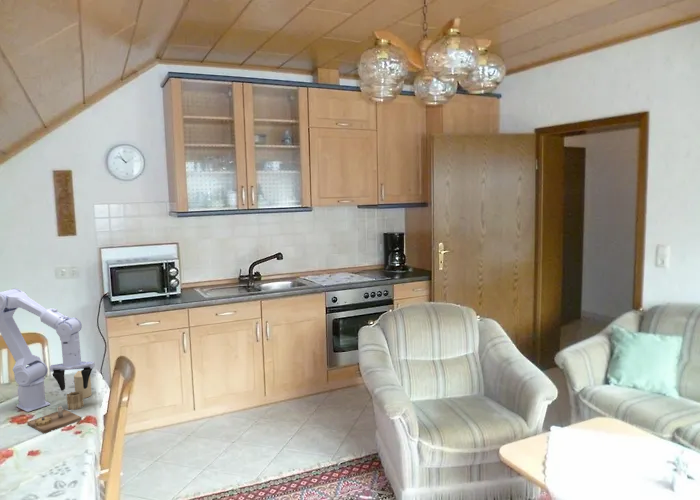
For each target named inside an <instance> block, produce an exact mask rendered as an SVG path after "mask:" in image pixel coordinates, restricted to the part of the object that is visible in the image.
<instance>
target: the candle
mask: <svg viewBox="0 0 700 500" xmlns="http://www.w3.org/2000/svg"><path fill="white" fill-rule="evenodd" d="M82 370H83V369H82ZM82 370H81V369H80V370H77V371H76V373H75V374H74V375H73V381H74V392H76V391H80V392H81V391H82V393H83V399H86V398H89V397H91V396H92V380H91V379H92V378H91V375H90V376H89V380H88V387H87V388H86V389H84V387H83V377H82V373H81V371H82Z"/></svg>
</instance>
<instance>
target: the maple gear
mask: <svg viewBox="0 0 700 500" xmlns="http://www.w3.org/2000/svg"><path fill="white" fill-rule="evenodd" d="M66 403H67V411H70V410H71V411H74V410H77V409H78V410H79V409H81V408H84V406H85V405H84V403H85V402H84V398H83V393H82V391H81V392H80V391H76V392H75V391H71V392H69V393H67V394H66Z"/></svg>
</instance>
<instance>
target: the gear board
mask: <svg viewBox="0 0 700 500" xmlns="http://www.w3.org/2000/svg"><path fill="white" fill-rule="evenodd" d="M82 418H83V417H82V416H80V415H78V414H75V413H73V412H72V411H70V410H68V409H63V407H62V406H61V405H59V406H58V407H57V411H55V412H53V413H50V414H46V415H44V416H43V415H42V416H41V417H38V418H35V419H32V420H29V421H27V422H26V423H27V426H29V427H31V428H32V429H35V430H37V431H38V432H40V433H42V434H44V433H45V434H46V433H50V432H52V431H51V430H53V431H56V430H58V429H60V428H63V427H66V426H69V425H71V424H74V423H77V422H79V421H82ZM55 429H56V430H55ZM49 431H50V432H49Z"/></svg>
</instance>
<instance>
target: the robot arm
mask: <svg viewBox="0 0 700 500" xmlns="http://www.w3.org/2000/svg"><path fill="white" fill-rule="evenodd" d="M19 308H20V309H23V310H24V311H27V312H28V313H31V314H33V315H35V316H37V317H39V318H40V322H41V323H43V324H45V325H46V326H48V327H50V328H52V329H53V330H55V332H56V334H57V335H58V337H59V340H60V343H61V353H62V354H61V355H62V363H57V364H51V365H50V366H49V370H48V366H47V364H46V363H45V362H44V361H43V360H41V357H40V356H37V355H34V354H33V353H32V351H31V350H30V348H29V346H28V344H27V342H26V340H25V338H24V335H22V332H21V330H20V328H19V327H18V325H17V323H16V321H15V319H14V314H15V312H16V311H17V310H18V309H19ZM82 326H83V325H82V322H81V320H80V319H79V318H78V317H74V316H73V317H69V316H68V315H65V314H63V313H62V312H59V311H58V308H54V307H51V308H46V307H45V306H43V305H42V304H40V303H39V302H37V301H36V300H34V299H33V298H31V297H29V295H27V293H26V292H25V291H23V290H21V289H19V288H16V287H15V288H11V289H7V290H5V291H4V290H2V291H0V335H1V337H2V338H3V341H4V343H5V344H6V346H7V348H8V351H9V352H10V354H11V356H12V358H13V359H14V361H15V363H14V365H13V367H12V372H13V374H14V380H15V383H16V384H18V387H17V397H18V403H17V404H16V405H15V407H16V408H19V409H21V410H22V411H24V412H26V413H29V412H31V411H35V410H38V409H41V408H44V407H47V406H50V405H51V403H50V402H49V401H47V400H46V392H45V391H46V390H45V379H46V378H45V377H46V376H47V374H48V371H49V372H51V373H52V374H51V375H52V377H53V378H54V380H56V382H57V384H58V386H59V388H60V391H62V392H63V391H64V390H65V389H66V382H65V381H66V380H65V372H66V371H70V370H80V371H81V369H82V371H81V373H82V377H83V387H84V389H86V388H87V387H88V380H89V376H90V377H91V373H92V371H93V369H94V368H95V367H96V363H95V361H82V356H81V354H82V353H81V344H80V331H81V330H82V328H83V327H82Z"/></svg>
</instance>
